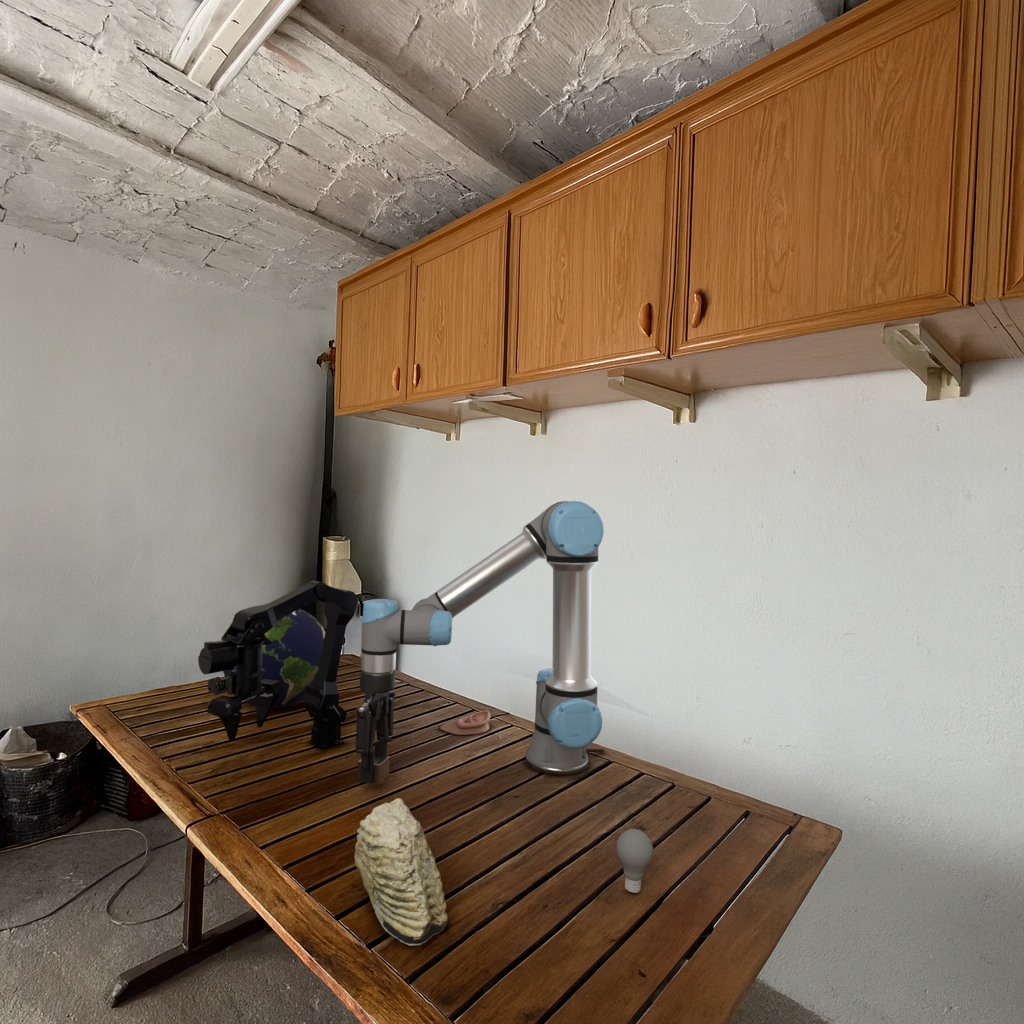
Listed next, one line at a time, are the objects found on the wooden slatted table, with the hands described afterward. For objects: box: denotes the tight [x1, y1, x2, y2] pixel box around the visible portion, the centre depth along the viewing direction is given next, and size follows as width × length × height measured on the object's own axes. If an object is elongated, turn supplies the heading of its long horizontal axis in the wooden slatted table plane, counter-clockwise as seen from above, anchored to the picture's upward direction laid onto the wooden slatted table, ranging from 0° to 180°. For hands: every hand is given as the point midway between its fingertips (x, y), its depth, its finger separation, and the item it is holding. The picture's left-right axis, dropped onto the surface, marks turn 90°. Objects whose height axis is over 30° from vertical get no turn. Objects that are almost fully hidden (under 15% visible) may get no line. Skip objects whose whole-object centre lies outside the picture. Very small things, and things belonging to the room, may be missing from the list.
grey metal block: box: [356, 754, 391, 786], centre depth 138 cm, size 5×5×4 cm
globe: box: [222, 608, 326, 710], centre depth 188 cm, size 30×30×30 cm
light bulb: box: [615, 828, 654, 894], centre depth 106 cm, size 6×6×10 cm
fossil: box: [354, 797, 449, 947], centre depth 98 cm, size 9×18×15 cm, turn 46°
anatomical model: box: [439, 709, 491, 736], centre depth 177 cm, size 13×4×12 cm
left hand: (246, 733), depth 145 cm, fingers open, 9 cm apart
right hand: (373, 776), depth 138 cm, fingers closed on grey metal block, 5 cm apart
